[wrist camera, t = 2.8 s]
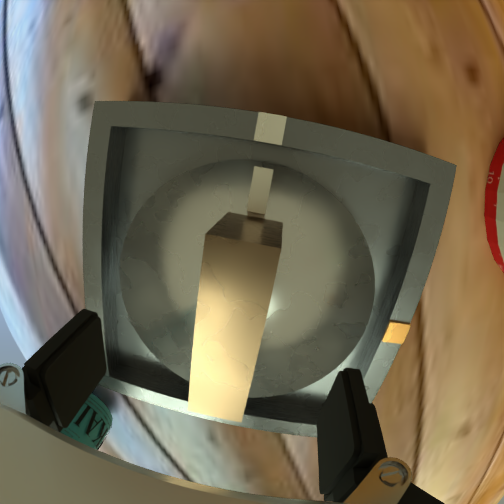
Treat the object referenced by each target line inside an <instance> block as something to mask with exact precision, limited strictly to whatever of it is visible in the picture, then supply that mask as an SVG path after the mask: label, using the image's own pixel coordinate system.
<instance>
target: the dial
mask: <svg viewBox="0 0 504 504" xmlns="http://www.w3.org/2000/svg"><path fill="white" fill-rule="evenodd" d="M119 272H120V287H121V293H122V298H123V302H124V305H125V308H126V311H127V314H128V317H129V319H130V321H131V323H132V325H133V327H134V329H135V331H136V332H137V334H138V335H139V337H140V339H141V340H142V342H143V343H144V344H145V345H146V347H147V348H148V349H149V350H150V352H151V353H152V354H153V355H154V356H155V357H156V358H157V359H158V360H159V361H160V362H161V363H163V364H164V365H165V366H166V367H168V368H169V369H170V370H171V371H173V372H174V373H176V374H177V375H179V376H180V377H182V378H183V379H185V380H187V381H189V382H190V385H189V399H188V410H189V411H192V412H196V413H200V414H204V415H209V416H213V417H217V418H222V419H226V420H231V421H236V422H242V418H243V414H244V410H245V406H246V402H247V398H248V397H250V398H257V397H270V396H277V395H283V394H286V393H290V392H294V391H297V390H299V389H302V388H304V387H307V386H309V385H311V384H313V383H315V382H317V381H319V380H320V379H322V378H324V377H325V376H326V375H328V374H329V373H331V372H332V371H333V370H335V369H336V368H337V367H338V366H339V365H340V364H341V363H342V362H343V361H344V360H345V359H346V358H347V357H348V356H349V355H350V353H351V352H352V351H353V350H354V348H355V347H356V345H357V344H358V342H359V341H360V339H361V337H362V336H363V334H364V331H365V329H366V327H367V325H368V322H369V319H370V316H371V312H372V309H373V303H374V296H375V273H374V267H373V260H372V256H371V253H370V250H369V247H368V244H367V241H366V239H365V237H364V235H363V233H362V231H361V229H360V227H359V225H358V224H357V222H356V221H355V220H354V218H353V217H352V215H351V214H350V212H349V211H348V210H347V209H346V208H345V207H344V205H343V204H342V203H341V202H340V201H339V200H338V199H337V198H336V197H335V196H334V195H332V194H331V193H330V192H329V191H328V190H326V189H325V188H324V187H323V186H321V185H320V184H319V183H317V182H315V181H314V180H312V179H310V178H309V177H307V176H305V175H303V174H302V173H299V172H297V171H294V170H292V169H289V168H287V167H284V166H281V165H277V164H273V163H269V162H263V161H254V160H229V161H221V162H216V163H210V164H206V165H203V166H200V167H197V168H194V169H191V170H188V171H186V172H184V173H183V174H181V175H179V176H177V177H175V178H173V179H172V180H170V181H169V182H167V183H166V184H165V185H163V186H162V187H160V188H159V189H158V190H157V191H156V192H155V193H154V194H153V195H152V196H151V197H150V198H149V199H148V200H147V201H146V202H145V203H144V205H143V206H142V207H141V209H140V210H139V211H138V213H137V214H136V216H135V218H134V220H133V221H132V223H131V225H130V227H129V229H128V232H127V235H126V237H125V240H124V243H123V248H122V252H121V258H120V271H119Z"/></svg>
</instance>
